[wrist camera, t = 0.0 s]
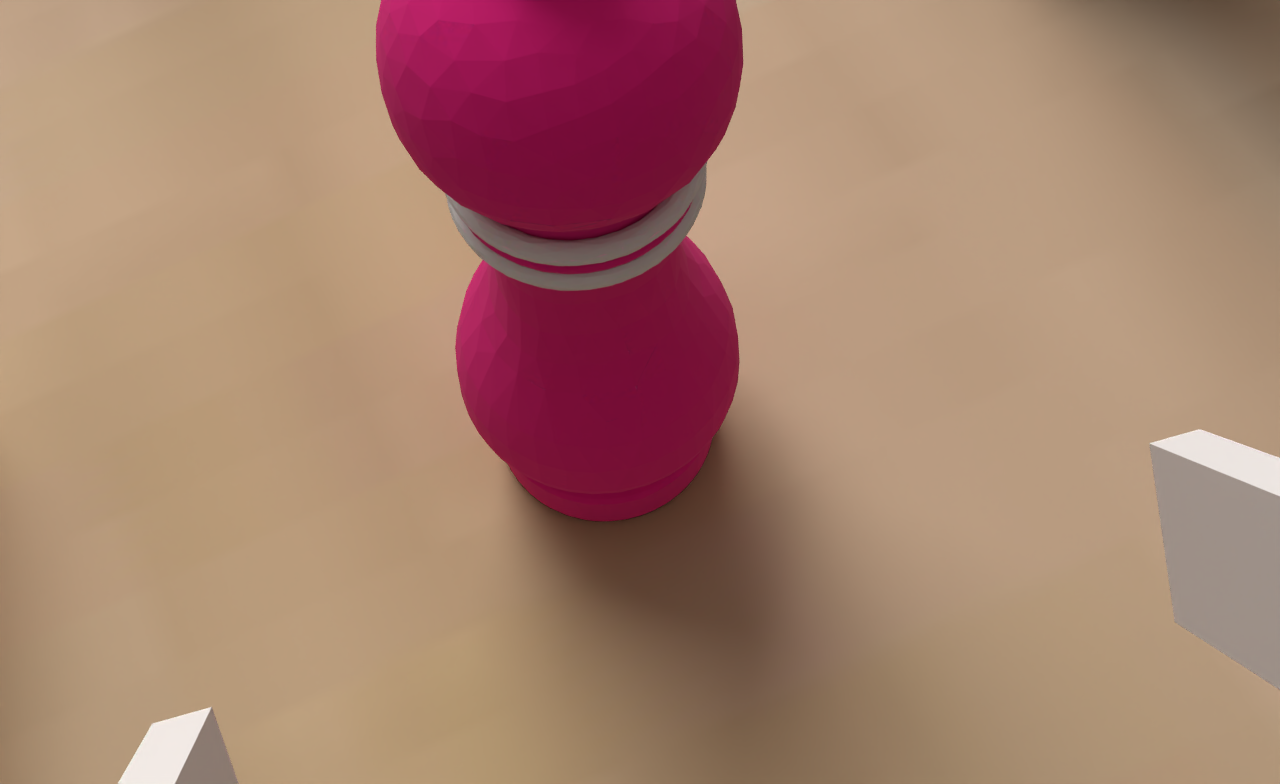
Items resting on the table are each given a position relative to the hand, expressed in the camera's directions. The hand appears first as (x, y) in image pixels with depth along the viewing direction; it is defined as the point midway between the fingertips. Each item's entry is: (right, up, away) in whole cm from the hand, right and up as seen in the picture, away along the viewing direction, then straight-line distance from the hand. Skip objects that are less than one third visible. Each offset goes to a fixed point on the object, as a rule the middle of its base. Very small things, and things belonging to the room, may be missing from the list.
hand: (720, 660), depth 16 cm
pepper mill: (-2, +3, +18) cm, 19 cm away
